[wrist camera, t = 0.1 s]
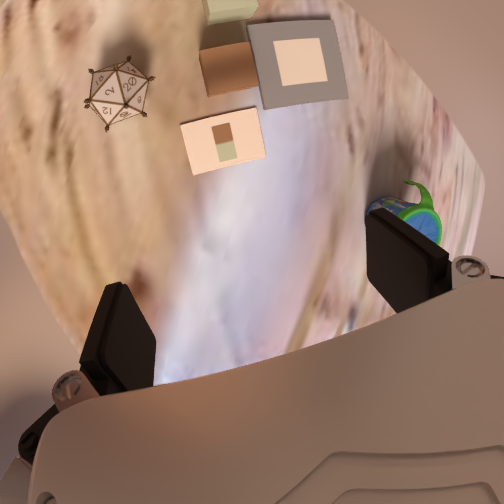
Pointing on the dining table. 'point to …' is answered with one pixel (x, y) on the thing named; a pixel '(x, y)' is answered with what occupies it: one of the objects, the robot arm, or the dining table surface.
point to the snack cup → (414, 213)
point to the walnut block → (228, 68)
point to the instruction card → (223, 140)
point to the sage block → (228, 10)
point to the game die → (118, 92)
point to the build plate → (297, 62)
